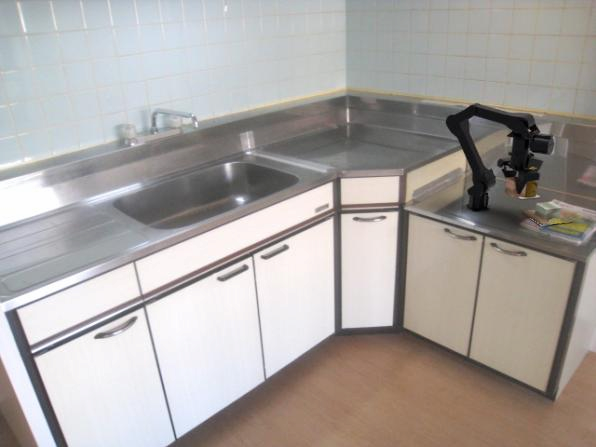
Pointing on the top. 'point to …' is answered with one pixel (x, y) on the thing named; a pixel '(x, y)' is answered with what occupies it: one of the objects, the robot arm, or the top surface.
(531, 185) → the condiment
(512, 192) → the top block
